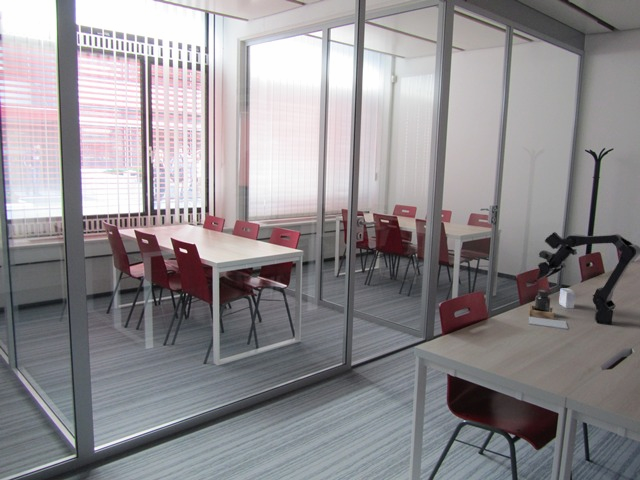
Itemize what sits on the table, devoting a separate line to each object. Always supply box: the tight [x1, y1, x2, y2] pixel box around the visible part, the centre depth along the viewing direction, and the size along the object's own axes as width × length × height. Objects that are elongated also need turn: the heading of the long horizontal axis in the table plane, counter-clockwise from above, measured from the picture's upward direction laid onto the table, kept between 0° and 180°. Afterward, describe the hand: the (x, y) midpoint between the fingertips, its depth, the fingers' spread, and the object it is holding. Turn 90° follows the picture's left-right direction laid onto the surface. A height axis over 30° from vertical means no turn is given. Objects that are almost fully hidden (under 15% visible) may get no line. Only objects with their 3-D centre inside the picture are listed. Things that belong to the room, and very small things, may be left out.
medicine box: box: [558, 287, 576, 309], centre depth 264 cm, size 8×4×9 cm, turn 179°
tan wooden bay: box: [528, 304, 555, 320], centre depth 248 cm, size 10×11×3 cm
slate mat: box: [528, 316, 569, 330], centre depth 235 cm, size 16×11×1 cm
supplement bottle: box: [534, 289, 552, 312], centre depth 247 cm, size 7×7×12 cm
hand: (541, 278), depth 261 cm, fingers open, 9 cm apart
